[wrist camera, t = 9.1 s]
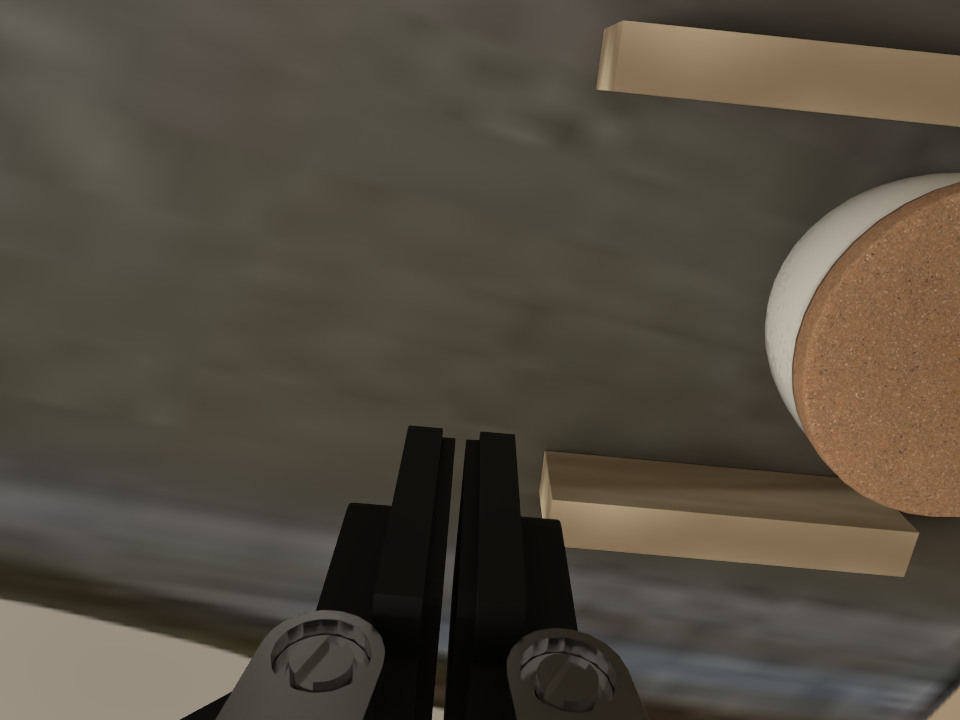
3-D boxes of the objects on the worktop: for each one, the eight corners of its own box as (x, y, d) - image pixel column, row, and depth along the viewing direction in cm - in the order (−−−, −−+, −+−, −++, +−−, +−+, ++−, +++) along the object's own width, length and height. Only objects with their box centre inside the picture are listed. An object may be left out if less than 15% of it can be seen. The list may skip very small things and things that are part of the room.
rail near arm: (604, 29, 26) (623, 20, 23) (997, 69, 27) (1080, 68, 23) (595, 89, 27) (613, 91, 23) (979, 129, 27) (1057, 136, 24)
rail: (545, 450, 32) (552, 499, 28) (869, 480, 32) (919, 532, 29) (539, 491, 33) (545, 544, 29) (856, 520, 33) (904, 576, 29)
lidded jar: (722, 427, 32) (812, 560, 23) (731, 165, 28) (842, 204, 19) (984, 409, 31) (1177, 538, 22) (1028, 141, 28) (1281, 170, 19)
